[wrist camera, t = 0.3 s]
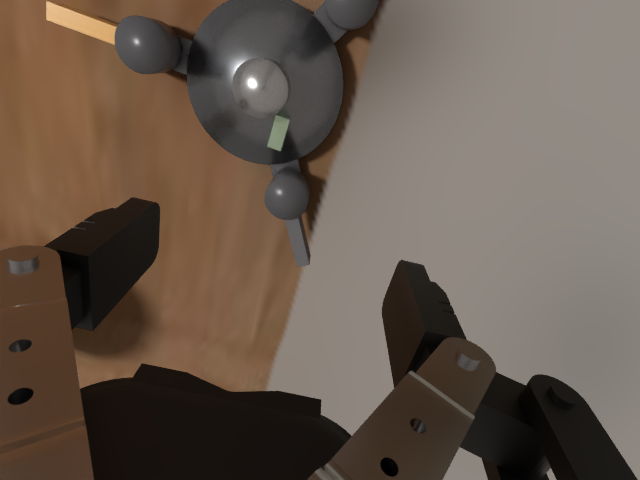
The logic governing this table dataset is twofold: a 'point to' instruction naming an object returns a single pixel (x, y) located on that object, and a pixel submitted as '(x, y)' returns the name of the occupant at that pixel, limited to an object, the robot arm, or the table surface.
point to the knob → (291, 209)
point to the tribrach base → (282, 45)
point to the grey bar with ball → (350, 12)
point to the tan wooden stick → (126, 37)
